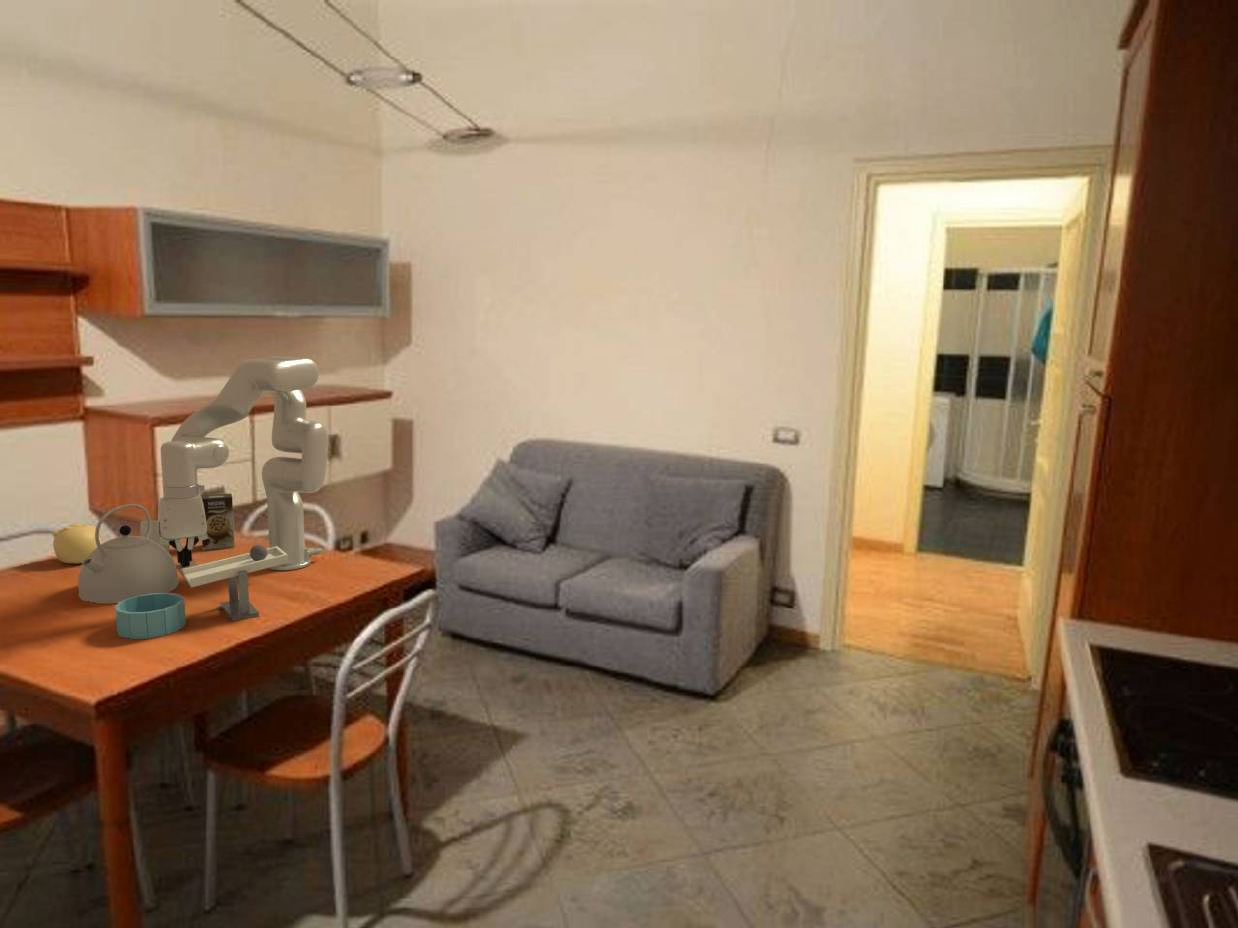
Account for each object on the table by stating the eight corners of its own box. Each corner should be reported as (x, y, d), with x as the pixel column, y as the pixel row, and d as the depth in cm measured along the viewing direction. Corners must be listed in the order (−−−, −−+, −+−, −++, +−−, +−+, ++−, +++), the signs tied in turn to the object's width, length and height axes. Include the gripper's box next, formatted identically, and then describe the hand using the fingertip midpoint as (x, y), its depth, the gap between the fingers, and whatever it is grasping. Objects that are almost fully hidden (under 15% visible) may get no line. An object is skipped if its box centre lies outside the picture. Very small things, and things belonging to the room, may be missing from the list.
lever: (268, 549, 219) (266, 537, 218) (289, 567, 205) (287, 554, 204) (176, 571, 206) (174, 559, 206) (192, 592, 192) (190, 578, 191)
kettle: (126, 610, 202) (119, 521, 198) (48, 601, 207) (39, 514, 203) (197, 579, 226) (192, 499, 222) (126, 572, 231) (119, 493, 227)
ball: (265, 542, 207) (248, 543, 204) (269, 546, 204) (252, 547, 201) (264, 558, 207) (247, 559, 205) (269, 562, 204) (251, 563, 202)
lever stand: (246, 601, 210) (243, 558, 208) (259, 616, 201) (256, 570, 199) (220, 606, 206) (217, 562, 204) (232, 621, 197) (229, 574, 195)
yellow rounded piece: (98, 552, 247) (95, 517, 245) (106, 562, 238) (103, 526, 236) (52, 559, 240) (48, 523, 238) (59, 569, 231) (55, 532, 229)
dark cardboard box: (202, 550, 252) (199, 498, 249) (202, 545, 258) (198, 494, 255) (235, 547, 256) (232, 496, 253) (234, 542, 262) (231, 492, 259)
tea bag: (166, 554, 247) (164, 522, 246) (141, 555, 246) (138, 523, 244) (169, 551, 251) (167, 519, 249) (144, 552, 249) (142, 519, 247)
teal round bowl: (178, 612, 201) (176, 589, 200) (190, 630, 191) (188, 605, 190) (113, 624, 193) (111, 599, 192) (122, 643, 183) (120, 617, 182)
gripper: (210, 486, 209) (214, 556, 212) (143, 492, 200) (148, 565, 203) (217, 491, 203) (221, 564, 206) (148, 498, 194) (153, 573, 197)
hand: (185, 564), depth 204 cm, fingers closed
